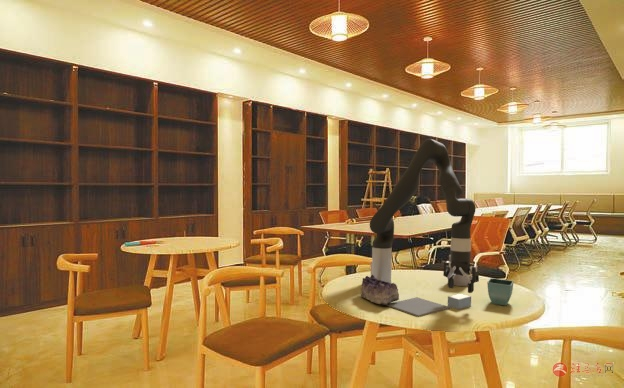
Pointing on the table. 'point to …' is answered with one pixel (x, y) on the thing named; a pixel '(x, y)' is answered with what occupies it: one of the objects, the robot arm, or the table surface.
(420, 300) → the rubber mat
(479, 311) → the table surface
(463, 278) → the pillar candle
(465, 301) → the card box
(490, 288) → the flower pot
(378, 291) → the geode
